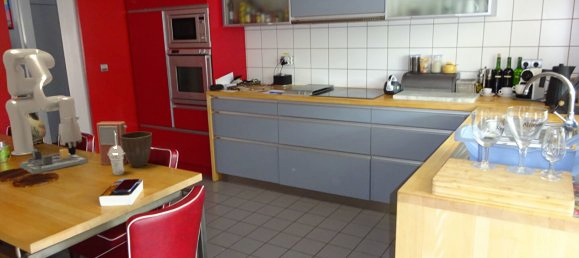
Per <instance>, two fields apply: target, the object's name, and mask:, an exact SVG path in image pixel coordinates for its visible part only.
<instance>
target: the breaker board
mask: <svg viewBox="0 0 579 258" xmlns="http://www.w3.org/2000/svg"><path fill="white" fill-rule="evenodd" d="M68 155H69V156H71V157H67V158H62V159H58V157H60V152H58V153H52V154H46V155H42V151H41V150H38V149H37V151H32V157H30V158H26V161H21V162H18V165H19V168H21V169H23V170H25V171H26V170H27V171H26V172H28V173H30V174H32V175H35V174H39V173H45V172H49V171H55V170H60V169H63V168H68V167H73V166H79V165H83V164H87V163H88V159H87V157H86V158H85V157H83V156H81V155H78V154H77V153H75V155H71V154H69V152H68Z"/></svg>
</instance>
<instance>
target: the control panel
mask: <svg viewBox="0 0 579 258" xmlns="http://www.w3.org/2000/svg"><path fill="white" fill-rule="evenodd" d="M96 128H97V129H96V131H97V140H98V150H99V157H100V160H99V161H100V164H101V165H111V160H110V158H109V156H108V155H107V153H108V152H109V149H110V148H111V147H112V146H114V145H115V136H114V131H115V133H116V140H117V145H120V146H122V147H123V145H122V141H121V137H120V136H121V135H123V134H126V133H127V132H126V131H127V130H126V129H127V128H128V126H127V125H126V122H125V121H99V122H97V123H96ZM123 149H124V148H123ZM127 161H128V162H129V160H128V158H127V156H126V154H125V157H124V165H125V163H126V162H127ZM128 162H127V163H128ZM127 163H126V164H127Z"/></svg>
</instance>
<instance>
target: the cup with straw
mask: <svg viewBox="0 0 579 258" xmlns="http://www.w3.org/2000/svg"><path fill="white" fill-rule="evenodd" d="M114 136H115V145H114V146H112V147H111V148H110V149H109V152H108V153H107V155H108V156H109V158H110V160H111V164H110V165H111V169H112V172H113V175H114V176H116V175H117V176H119V175H123V174H124V172H125V171H124V170H125V164H124V157H125V154H126V151H125V150H124V149H123V147H122V146H120V145H117V140H116V133H115V131H114Z"/></svg>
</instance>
